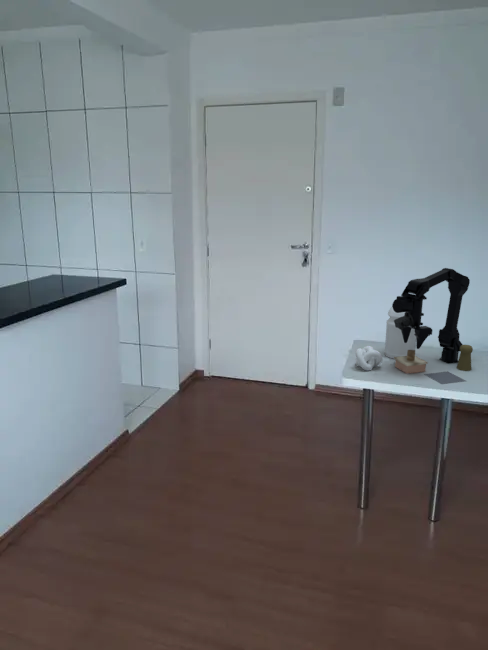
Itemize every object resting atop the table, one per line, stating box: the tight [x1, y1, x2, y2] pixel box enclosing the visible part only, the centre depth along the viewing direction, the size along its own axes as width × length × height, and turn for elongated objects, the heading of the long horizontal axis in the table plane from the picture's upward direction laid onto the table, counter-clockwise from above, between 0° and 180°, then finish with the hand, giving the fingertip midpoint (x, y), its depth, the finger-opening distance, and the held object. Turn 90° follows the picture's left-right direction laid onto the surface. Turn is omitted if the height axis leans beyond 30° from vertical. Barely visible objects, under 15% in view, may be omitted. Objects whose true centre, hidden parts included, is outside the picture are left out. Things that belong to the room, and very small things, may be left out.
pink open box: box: [394, 360, 427, 375], centre depth 225 cm, size 9×9×4 cm
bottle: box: [384, 297, 417, 360], centre depth 242 cm, size 14×14×28 cm
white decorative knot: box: [355, 345, 383, 372], centre depth 228 cm, size 11×12×9 cm
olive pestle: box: [456, 344, 474, 372], centre depth 225 cm, size 6×6×11 cm
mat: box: [423, 371, 467, 385], centre depth 216 cm, size 12×12×1 cm
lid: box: [393, 349, 429, 366], centre depth 224 cm, size 10×10×5 cm
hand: (411, 345), depth 223 cm, fingers open, 9 cm apart
